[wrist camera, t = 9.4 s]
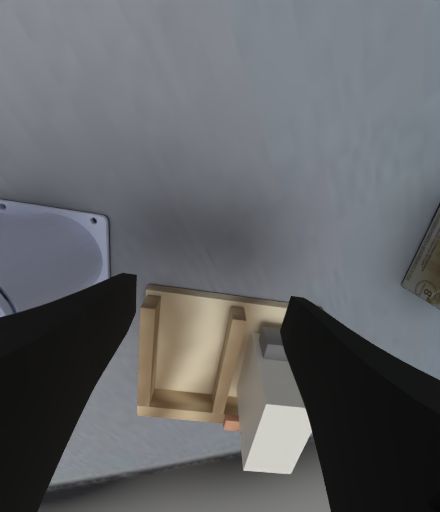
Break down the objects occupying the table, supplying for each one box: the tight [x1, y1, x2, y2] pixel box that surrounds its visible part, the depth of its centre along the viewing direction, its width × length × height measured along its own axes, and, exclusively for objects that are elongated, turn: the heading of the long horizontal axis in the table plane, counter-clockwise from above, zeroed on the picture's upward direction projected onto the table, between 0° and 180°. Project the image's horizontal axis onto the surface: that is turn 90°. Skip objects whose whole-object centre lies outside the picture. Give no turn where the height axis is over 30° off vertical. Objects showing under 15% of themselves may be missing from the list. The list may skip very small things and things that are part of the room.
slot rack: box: [137, 284, 324, 431], centre depth 22 cm, size 17×14×4 cm
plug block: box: [236, 326, 312, 474], centre depth 19 cm, size 4×10×7 cm, turn 171°
